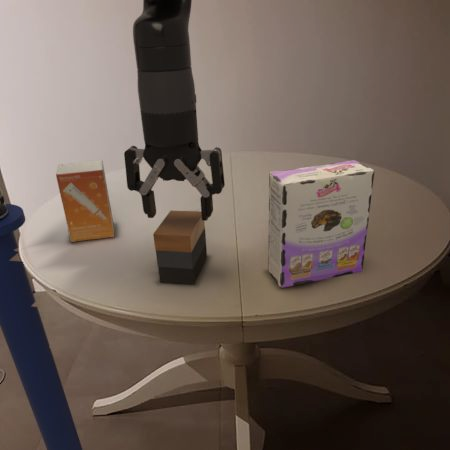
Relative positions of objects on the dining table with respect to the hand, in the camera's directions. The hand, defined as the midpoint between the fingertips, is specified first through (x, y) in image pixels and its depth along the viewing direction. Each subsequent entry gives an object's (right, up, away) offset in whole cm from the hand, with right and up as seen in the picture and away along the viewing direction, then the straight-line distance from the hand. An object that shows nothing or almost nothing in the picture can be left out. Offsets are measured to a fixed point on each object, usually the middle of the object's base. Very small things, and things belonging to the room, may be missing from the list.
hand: (178, 217), depth 72 cm
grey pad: (0, -5, +3) cm, 6 cm away
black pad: (0, -8, +5) cm, 9 cm away
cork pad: (0, -3, +2) cm, 4 cm away
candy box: (+21, -8, +2) cm, 23 cm away
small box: (-18, 0, +18) cm, 26 cm away
